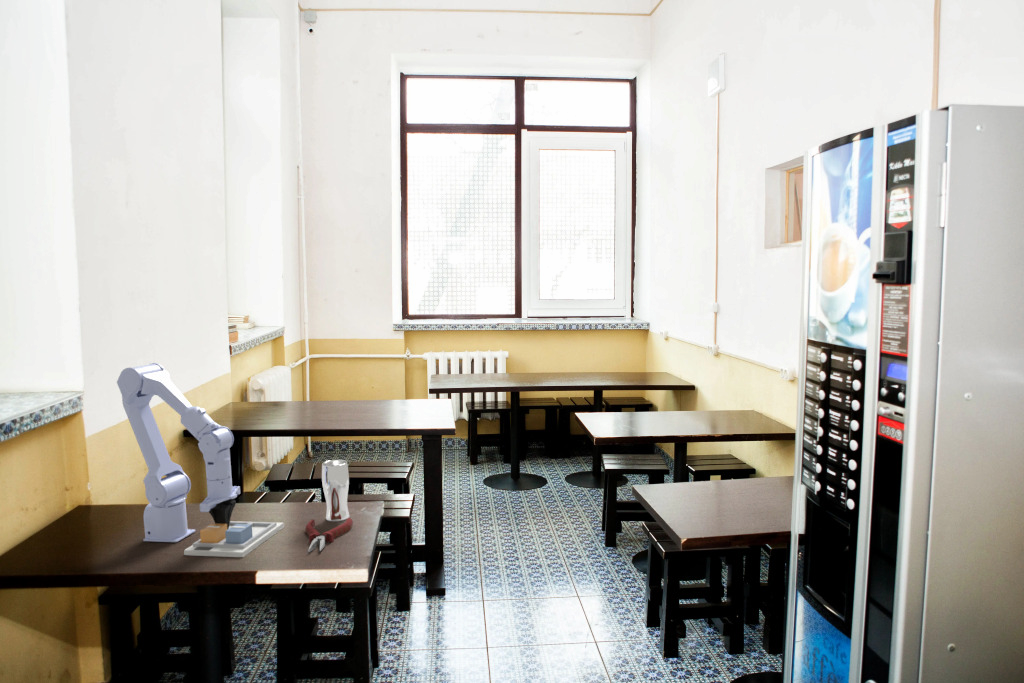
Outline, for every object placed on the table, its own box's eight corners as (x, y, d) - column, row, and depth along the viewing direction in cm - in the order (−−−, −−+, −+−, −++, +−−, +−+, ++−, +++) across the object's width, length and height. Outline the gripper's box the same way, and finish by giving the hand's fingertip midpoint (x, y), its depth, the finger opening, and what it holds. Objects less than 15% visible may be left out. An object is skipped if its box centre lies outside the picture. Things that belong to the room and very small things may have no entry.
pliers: (289, 557, 171) (288, 546, 171) (309, 527, 191) (309, 517, 191) (339, 555, 171) (338, 544, 171) (354, 525, 191) (353, 516, 191)
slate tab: (226, 545, 175) (225, 530, 175) (237, 537, 180) (236, 523, 180) (241, 545, 175) (240, 530, 174) (252, 538, 179) (251, 523, 179)
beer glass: (347, 521, 193) (344, 465, 191) (321, 522, 193) (317, 466, 191) (353, 513, 200) (350, 459, 198) (328, 513, 200) (324, 459, 198)
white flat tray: (184, 555, 173) (183, 546, 173) (231, 525, 193) (230, 518, 193) (242, 557, 171) (242, 549, 171) (284, 527, 190) (283, 519, 190)
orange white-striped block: (201, 544, 176) (199, 529, 176) (213, 537, 181) (211, 522, 181) (216, 545, 176) (215, 530, 175) (227, 537, 180) (226, 523, 180)
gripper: (217, 486, 173) (221, 542, 174) (249, 469, 187) (253, 521, 188) (190, 485, 174) (194, 541, 175) (224, 469, 188) (228, 520, 190)
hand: (223, 531), depth 182 cm, fingers closed
